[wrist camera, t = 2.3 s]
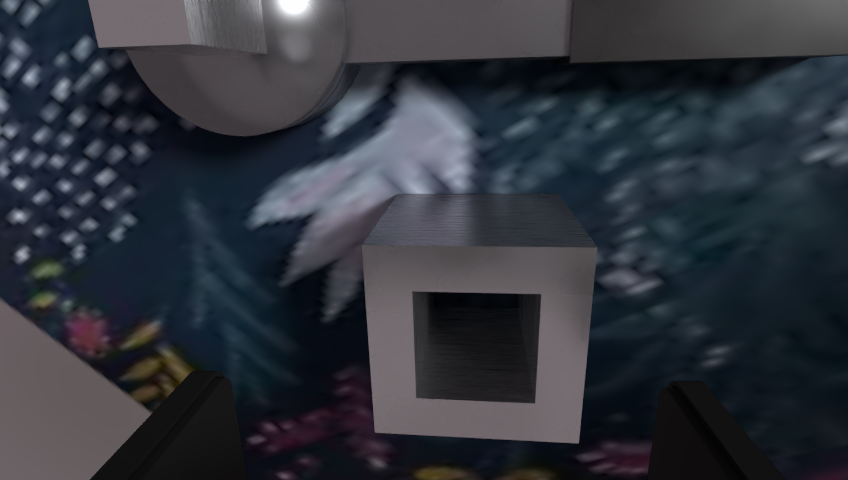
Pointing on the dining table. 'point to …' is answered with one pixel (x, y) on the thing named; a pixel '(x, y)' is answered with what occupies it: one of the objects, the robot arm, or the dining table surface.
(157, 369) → the dining table surface
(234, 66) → the ball knob lever
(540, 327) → the socket
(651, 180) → the dining table surface
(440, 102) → the dining table surface
